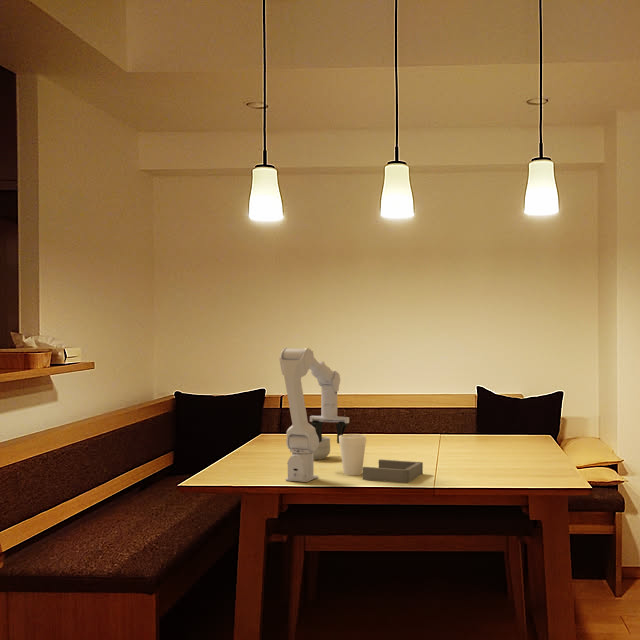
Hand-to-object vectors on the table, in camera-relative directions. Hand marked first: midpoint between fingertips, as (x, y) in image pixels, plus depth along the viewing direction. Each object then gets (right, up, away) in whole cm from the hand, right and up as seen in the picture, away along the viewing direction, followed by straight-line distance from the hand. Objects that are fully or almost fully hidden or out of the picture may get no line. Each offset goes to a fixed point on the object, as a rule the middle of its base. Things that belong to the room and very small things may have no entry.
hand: (329, 442), depth 294 cm
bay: (+21, -9, -14) cm, 27 cm away
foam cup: (+8, -10, -9) cm, 15 cm away
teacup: (-4, -10, +24) cm, 26 cm away
